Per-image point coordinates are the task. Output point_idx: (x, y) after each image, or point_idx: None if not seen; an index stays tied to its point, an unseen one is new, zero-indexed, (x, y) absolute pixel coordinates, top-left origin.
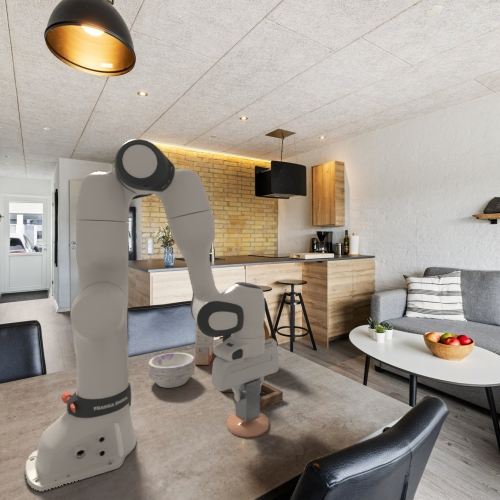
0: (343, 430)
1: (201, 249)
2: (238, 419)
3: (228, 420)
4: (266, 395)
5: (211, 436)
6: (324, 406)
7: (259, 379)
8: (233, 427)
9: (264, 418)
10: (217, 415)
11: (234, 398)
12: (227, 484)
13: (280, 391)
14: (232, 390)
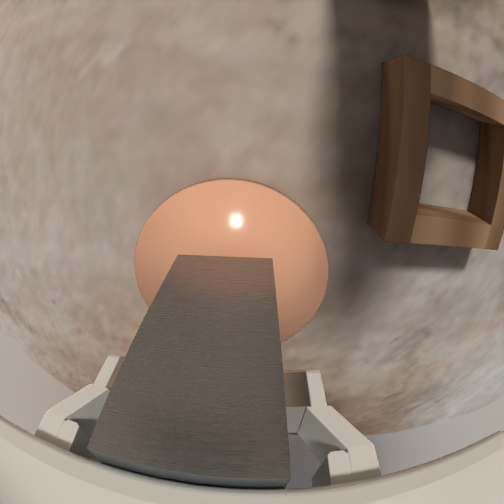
0: (395, 416)
1: None
2: (203, 241)
3: (158, 216)
4: (447, 220)
5: (74, 240)
6: (479, 340)
7: (312, 482)
8: (150, 274)
9: (304, 309)
10: (160, 116)
11: (108, 357)
12: (73, 379)
13: (497, 241)
14: (71, 395)
